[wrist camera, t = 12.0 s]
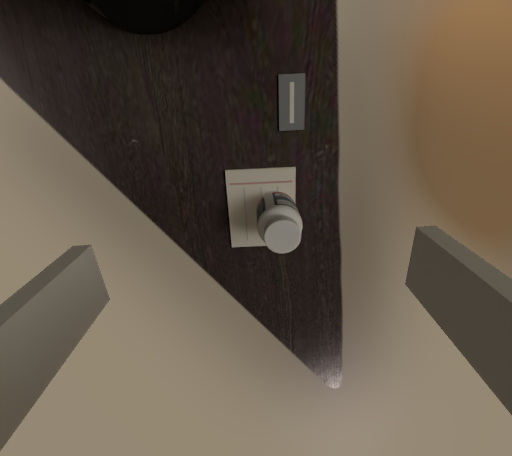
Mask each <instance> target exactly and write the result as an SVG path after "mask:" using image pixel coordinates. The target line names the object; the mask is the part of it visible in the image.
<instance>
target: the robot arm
mask: <svg viewBox="0 0 512 456" xmlns="http://www.w3.org/2000/svg"><path fill="white" fill-rule="evenodd" d="M82 1H83V2H84V3H85V4H86V5H87V6H88V7H89V8H90V9H92V10H93V11H94V12H95V13H97V14H98V15H99V16H101V17H102V18H104V19H106V20H107V21H109V22H111V23H113V24H114V25H116V26H118V27H120V28H122V29H125V30H127V31H130V32H134V33H139V34H159V33H163V32H167V31H169V30H172V29H174V28H176V27H178V26H179V25H181V24H182V23H184V22H185V21H186V20H187V19H189V18H190V17H191V16H192V14H193V13H194V12H195V11H196V10H197V8H198V7H199V5H200V4H201V2H202V1H203V0H82ZM405 284H406V286H407V287H408V288H409V289H410V291H411V292H412V293H413V294H414V295H415V297H416V298H417V299H418V300H419V302H420V303H421V304H422V305H423V307H424V308H425V309H426V310H427V311H428V313H429V314H430V315H431V316H432V317H433V319H434V320H435V321H436V323H437V324H438V325H439V326H440V327H441V329H442V330H443V331H444V332H445V334H446V335H447V336H448V337H449V338H450V340H451V341H452V342H453V343H454V345H455V346H456V347H457V348H458V350H459V351H460V352H461V353H462V354H463V356H464V357H465V358H466V359H467V361H468V362H469V363H470V364H471V366H472V367H473V368H474V369H475V370H476V372H477V373H478V374H479V375H480V376H481V378H482V379H483V380H484V382H485V383H486V384H487V385H488V386H489V388H490V389H491V390H492V391H493V393H494V394H495V395H496V396H497V397H498V399H499V400H500V401H501V402H502V404H503V405H504V406H505V407H506V409H507V410H508V411H509V412H510V414H511V415H512V279H511V278H509V277H508V276H506V275H505V274H503V273H502V272H501V271H499V270H498V269H496V268H495V267H493V266H492V265H491V264H489V263H488V262H486V261H485V260H484V259H482V258H481V257H479V256H478V255H477V254H475V253H474V252H472V251H471V250H469V249H468V248H467V247H465V246H464V245H462V244H461V243H459V242H458V241H457V240H455V239H454V238H452V237H451V236H449V235H448V234H447V233H445V232H444V231H442V230H441V229H439V228H438V227H437V226H424V227H416V231H415V237H414V242H413V247H412V252H411V257H410V262H409V267H408V273H407V278H406V283H405ZM109 300H110V298H109V295H108V293H107V290H106V287H105V284H104V281H103V278H102V275H101V273H100V270H99V266H98V263H97V260H96V258H95V255H94V252H93V249H92V246H91V245H84V246H72V247H71V248H70V249H69V250H67V251H66V252H65V253H64V254H63V255H61V256H60V257H59V258H58V259H56V260H55V261H54V262H53V263H51V264H50V265H49V266H48V267H46V268H45V269H44V270H43V271H42V272H40V273H39V274H38V275H37V276H35V277H34V278H33V279H32V280H31V281H29V282H28V283H27V284H25V285H24V286H23V287H22V288H21V289H19V290H18V291H17V292H16V293H14V294H13V295H12V296H11V297H9V298H8V299H7V300H6V301H5V302H3V303H2V304H1V305H0V451H1V450H2V448H3V447H4V445H5V444H6V443H7V441H8V440H9V439H10V437H11V436H12V434H13V433H14V432H15V430H16V429H17V427H18V426H19V425H20V423H21V422H22V420H23V419H24V418H25V416H26V415H27V414H28V412H29V411H30V409H31V408H32V407H33V405H34V404H35V402H36V401H37V399H38V398H39V397H40V396H41V394H42V393H43V391H44V390H45V389H46V387H47V386H48V384H49V383H50V381H51V380H52V379H53V377H54V376H55V375H56V373H57V372H58V370H59V369H60V368H61V366H62V365H63V364H64V362H65V361H66V359H67V358H68V357H69V355H70V354H71V352H72V351H73V350H74V348H75V347H76V346H77V344H78V343H79V341H80V340H81V339H82V337H83V336H84V334H85V333H86V332H87V330H88V329H89V327H90V326H91V325H92V323H93V322H94V321H95V319H96V318H97V316H98V315H99V314H100V312H101V311H102V310H103V308H104V307H105V305H106V304H107V303H108V301H109Z"/></svg>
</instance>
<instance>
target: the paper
mask: <svg viewBox="0 0 512 456" xmlns="http://www.w3.org/2000/svg"><path fill="white" fill-rule="evenodd" d="M295 172H296V167H278V168H257V169H235V170H225V177H226V188H227V199H228V210H229V221H230V232H231V243H232V247H248V246H266V244H265V242H264V241H263V240H262V239H261V237H260V236H259V233H258V229H257V214H256V209H257V205H258V202H259V201H260V199H261V198H262V197H263V196H264V195H266V194H268V193H270V192H275V191H279V192H283V193H286V194H287V195H289V196H290V197H291V198H292V199H293V201H294V203H295Z"/></svg>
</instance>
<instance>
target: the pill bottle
mask: <svg viewBox="0 0 512 456" xmlns="http://www.w3.org/2000/svg"><path fill="white" fill-rule="evenodd" d="M256 214H257V229H258V233H259V236H260V237H261V239H262V240H263V241H264V242H265V244H266V246H267V247H268V248H269V249H270V250H272V251H273V252H276V253H288V252H291V251H292V250H294V249H295V248H296V247H297V246H298V245H299V243H300V240H301V232H302V220H301V217H300V214H299V212H298V210H297V208H296V205H295V203H294V201H293V199H292V198H291V197H290V196H289V195H287V194H286V193H283V192H279V191H275V192H270V193H268V194H266V195H264V196H263V197H262V198H261V199H260V201H259V202H258V205H257V209H256Z"/></svg>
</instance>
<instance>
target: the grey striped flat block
mask: <svg viewBox="0 0 512 456" xmlns="http://www.w3.org/2000/svg"><path fill="white" fill-rule="evenodd" d="M278 82H279V131H285V130H304V111H305V73H302V74H282V75H278Z"/></svg>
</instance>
